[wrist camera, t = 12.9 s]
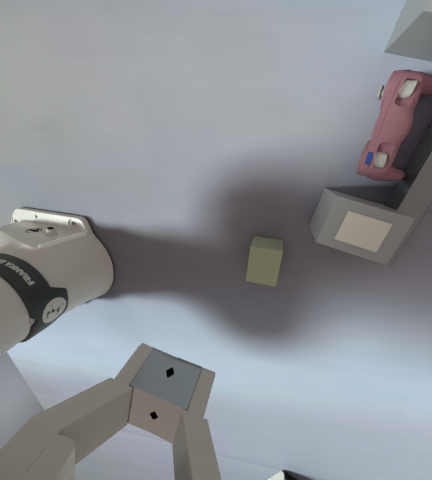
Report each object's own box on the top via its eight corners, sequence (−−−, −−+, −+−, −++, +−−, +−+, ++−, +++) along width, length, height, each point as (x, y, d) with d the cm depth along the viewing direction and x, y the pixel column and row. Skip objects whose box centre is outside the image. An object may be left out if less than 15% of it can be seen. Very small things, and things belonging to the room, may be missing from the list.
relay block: (249, 266, 35) (245, 281, 31) (254, 235, 33) (250, 246, 29) (277, 271, 34) (276, 287, 30) (283, 240, 32) (282, 251, 28)
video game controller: (391, 84, 25) (382, 59, 20) (447, 82, 23) (452, 53, 18) (358, 176, 29) (343, 175, 24) (403, 184, 26) (396, 185, 21)
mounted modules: (308, 224, 31) (315, 243, 24) (412, -13, 22) (471, -91, 15) (363, 242, 30) (386, 266, 23) (497, 0, 21) (601, -78, 14)
